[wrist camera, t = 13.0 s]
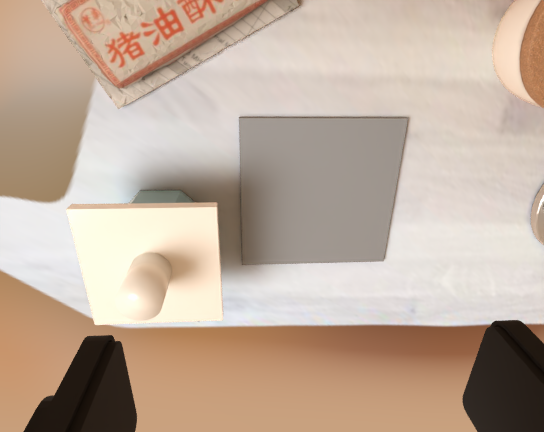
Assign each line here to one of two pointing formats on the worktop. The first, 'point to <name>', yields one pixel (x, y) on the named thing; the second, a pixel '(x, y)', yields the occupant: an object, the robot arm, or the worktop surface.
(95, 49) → the packaged product
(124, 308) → the lid
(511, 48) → the lidded jar
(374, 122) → the mat
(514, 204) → the worktop surface
